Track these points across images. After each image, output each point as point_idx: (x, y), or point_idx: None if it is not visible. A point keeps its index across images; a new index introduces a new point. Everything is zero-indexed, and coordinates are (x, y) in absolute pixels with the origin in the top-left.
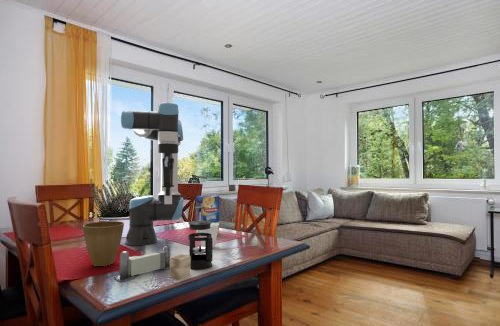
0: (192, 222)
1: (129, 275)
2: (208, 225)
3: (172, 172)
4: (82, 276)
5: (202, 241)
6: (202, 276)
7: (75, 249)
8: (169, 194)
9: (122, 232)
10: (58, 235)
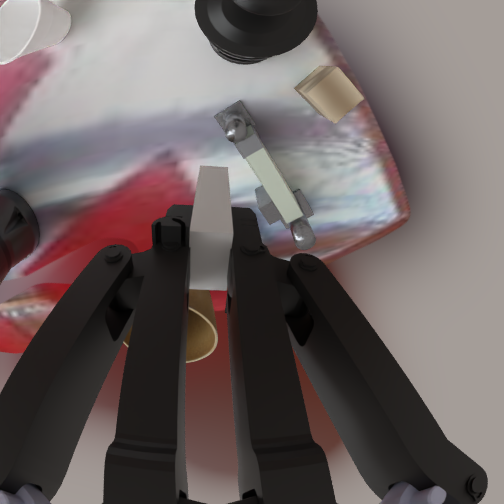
0: (261, 38)
1: None
2: None
3: (58, 374)
4: None
5: (53, 41)
6: (334, 41)
7: None
8: (254, 213)
9: None
10: (25, 348)
